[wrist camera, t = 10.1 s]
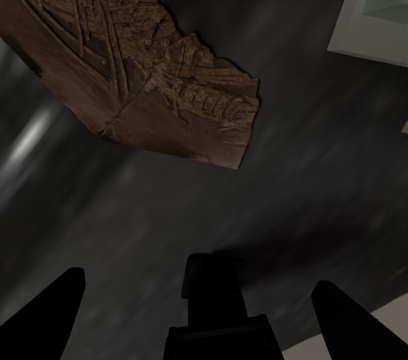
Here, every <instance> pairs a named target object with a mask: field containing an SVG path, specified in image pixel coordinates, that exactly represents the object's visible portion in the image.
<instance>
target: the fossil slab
mask: <svg viewBox="0 0 408 360" xmlns="http://www.w3.org/2000/svg"><path fill="white" fill-rule="evenodd" d="M0 37H1V38H2V39H3V40H4V42H5V43H6V44H7V45H8V46H9V47H10V48H11V49H12V50H13V51H14V52H15V53H16V54H17V55H18V56H19V57H20V58H21V59H22V60H23V61H24V62H25V64H26V65H27V66H29V68H30V69H31V70H32V71H33V72H34V73H35V74H36V75H37V76H38V77H39V79H40V80H41V81H43V82H44V83H45V84H46V86H47V87H48V88H49V89H50V90H51V91H53V93H54V94H55V95H56V96H58V98H59V99H60V100H61V101H62V102H63V103H64V104H65V105H66V106H67V107H68V108H70V109H71V110H72V111H73V112H75V115H77V116H78V117H77V118H78V119H80V120H81V121H82V122H83V123H84V124H85V125H86V126H87V127H88V128H89V130H90V131H92V132H93V133H94V134H96V135H97V136H98V133H100V132H101V131H102V130H104V132H103V133H102V134H101V133H100V134H101V135H99V138H100V139H101V140H105V141H109V142H113V143H118V144H121V145H126V146H132V147H136V148H140V149H145V150H150V151H154V152H160V153H164V154H169V155H174V156H178V157H182V158H188V159H192V160H198V161H201V162H207V163H209V164H215V165H219V166H223V167H228V168H233V169H238V167H239V164H240V161H241V159H242V156H243V154H244V151H245V149H246V147H247V145H248V144H249V142H250V140H251V137H252V126H251V125H252V122H253V120H254V116H255V114H256V112H257V110H258V107H259V101H258V99H257V98H256V91H257V86H258V78H254V79H252V78H251V77H250V76H249V75H248V74H247V73H243V72H242V71H239V70H238V69H237V68H236V67H235V66H234V65H233V64H232V63H230V62H229V61H226V60H224V59H221V58H216V57H214V55H213V53H211V52H210V50H209V48H207V47H206V46H205V45H204V44H203V43H202V42H201V41H200V40H199V38H198V36H197V35H196V33H195V32H194V31H192V32H191V33H190V34H188V35H186V36H184V37H182V36H181V35H180V33H179V31H178V29H177V28H176V27H175V25H174V22H173V20H172V18H171V16H170V14H169V13H168V12H167V11H166V10H165V9H164V7H163V6H162V5H160V4H159V0H0Z"/></svg>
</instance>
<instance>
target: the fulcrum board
mask: <svg viewBox="0 0 408 360" xmlns="http://www.w3.org/2000/svg"><path fill="white" fill-rule="evenodd" d="M327 51H331V52H336V53H341V54H346V55H350V56H355V57H360V58H365V59H370V60H375V61H380V62H384V63H389V64H394V65H399V66H404V67H408V0H344V3H343V6H342V9H341V12H340V14H339V17H338V20H337V23H336V26H335V29H334V31H333V34H332V37H331V40H330V43H329V46H328V48H327Z"/></svg>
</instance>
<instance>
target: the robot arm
mask: <svg viewBox="0 0 408 360" xmlns="http://www.w3.org/2000/svg"><path fill="white" fill-rule="evenodd" d="M246 266H247V263H246V260H244V259H233V258H217V257H201V256H190V257H188V259H187V264H186V269H185V275H184V281H183V286H182V292H181V297H182V298H183V299H188V326H185V327H178V328H176V327H170V328H169V334H168V337H167V338H166V344H165V351H164V357H163V360H284V358H283V355H282V352H281V350H280V348H279V345H278V343H277V340H276V338H275V336H274V333H273V331H272V328H271V326H270V324H269V321H268V319H267V316H266V314H261V315H259V316H255V317H248V315H247V311H246V307H245V303H244V299H243V295H242V291H241V287H240V284H241V281H242V278H243V275H244V272H245V269H246ZM85 285H86V283H85V273H84V269H83V268H77V267H72V268H69V269H68V270H67V271H66V272H64V273H63V274H62V275H61V276H60V277H59V278H57V279H56V280H55V281H54V282H53V283H51V284H50V285H49V286H48V287H47V288H45V289H44V290H43V291H42V292H41V293H39V294H38V295H37V296H36V297H35V298H34V299H32V300H31V301H30V302H29V303H28V304H26V305H25V306H24V307H23V308H22V309H20V310H19V311H18V312H17V313H16V314H14V315H13V316H12V317H11V318H10V319H9V320H7V321H6V322H5V323H4V324H3V325H1V326H0V360H60V358H61V356H62V353H63V351H64V349H65V346H66V344H67V342H68V339H69V337H70V334H71V331H72V328H73V325H74V321H75V318H76V315H77V312H78V309H79V306H80V303H81V300H82V297H83V294H84V290H85ZM311 298H312V302H313V306H314V309H315V312H316V315H317V319H318V322H319V325H320V328H321V332H322V335H323V338H324V341H325V343H326V346H327V349H328V351H329V354H330V356H331V359H332V360H408V345H407V344H406V343H405V342H404V341H403V340H402V339H400V338H399V337H398V336H397V335H395V334H394V333H393V332H392V331H391V330H389V329H388V328H387V327H386V326H384V325H383V324H382V323H381V322H379V321H378V320H377V319H376V318H374V317H373V316H372V315H371V314H370V313H369V312H367V311H366V310H365V309H364V308H362V307H361V306H360V305H359V304H358V303H356V302H355V301H354V300H353V299H352V298H350V297H349V296H348V295H347V294H345V293H344V292H343V291H342V290H341V289H339V288H338V287H337V286H336V285H334V284H333V283H332V282H330V281H325V280H320V281H318V283H317V285H316V286H315V288H314V290H313V292H312V294H311Z"/></svg>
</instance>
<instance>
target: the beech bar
mask: <svg viewBox="0 0 408 360" xmlns="http://www.w3.org/2000/svg"><path fill="white" fill-rule="evenodd" d="M401 132H404V133H407V134H408V121H407V122H406V124H405V126H404V128H403V130H402V131H401Z"/></svg>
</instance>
